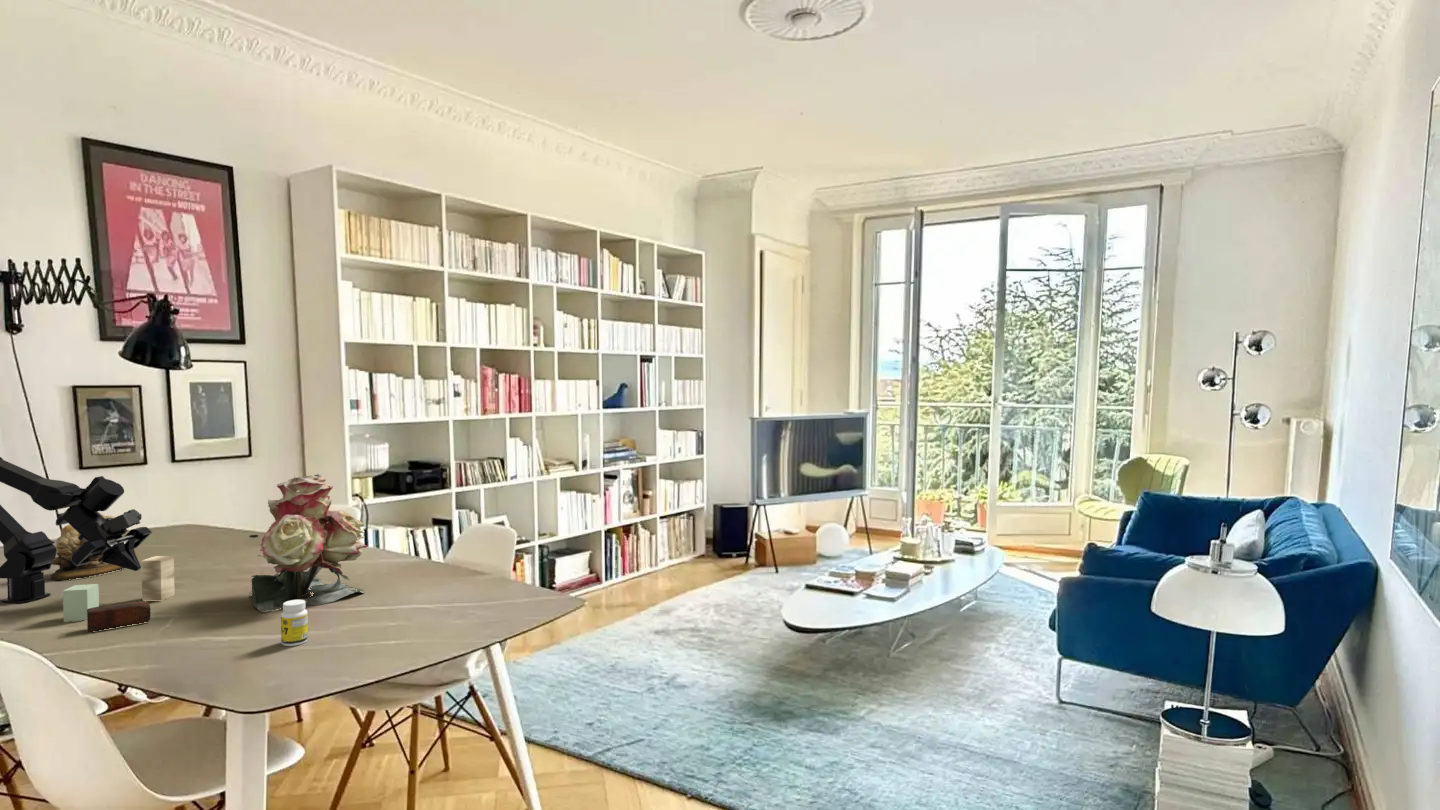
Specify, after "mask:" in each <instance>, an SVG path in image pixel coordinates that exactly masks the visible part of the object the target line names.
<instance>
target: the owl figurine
mask: <svg viewBox="0 0 1440 810" xmlns="http://www.w3.org/2000/svg"><path fill="white" fill-rule="evenodd" d="M99 513H100V514H101V515H102V516H103V517H104V518H115V517H116V516H113V515H105V514H102V513H101V512H99ZM79 536H80V534H79V533H78V532H77V531H76V530H75V529H74V528H73V527H72V526H71V525H70V524H67V525H65V526H64V527H62V529H61V530H60V536H59V537H57V539H56V541H55V542H56V545H54V546H55V547H56V550H57V551H56V557H55V559H54V560H53V562H52V566H59V568H58V569H56V570H55V571H54V573H52V574H51V575H50V579H51V580H53V581H56V580H69V579H76V578H84V577H89V576H94V575H99V574H104V573H108V572H112V571H116V570H120V569H122V568H124V567H120V566H117V565H113V564H109V563H104V562H98V560H99V559H100V558H101V556H100V553H96V554H93V555H89V556H88V557H87V558H88V563H87V564H84V565H81V566H76V565H75V564H74V563H73V562H72V561H71V555H72V554H73V553H74V552H75V551H76V550H77V549H78V548H79V547H80V546H81V545H82V544H83V543H84V542H87V540H82V541H80V540H79V539H78V537H79ZM120 571H121V570H120ZM84 579H85V578H84ZM69 581H70V580H69Z"/></svg>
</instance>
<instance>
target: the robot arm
mask: <svg viewBox="0 0 1440 810" xmlns="http://www.w3.org/2000/svg"><path fill="white" fill-rule="evenodd" d="M0 483H2V484H4V485H6V486H9V487H11V488H13V489H16V490H17V491H20V492H23V493H25V494H27V495H28V496H30V498H31V500H32V502H33V503H34V504H36V505H38V506H39V507H41V508H42V509H44V510H46V511H52V512H53V511H57V510H62V509H66V508H67V509H66V510H65V511H64V512H62V513H57V514H56V520H55V525H56V526H63V525H66V524H67V525H71V526H72V527H73V528H74V529H75V530H76V531H77V532H78V533H79V534H80V536H79V537H78V539H79V540H80V541H82V540H87V542H84V543H83V544H82V545H81V546H80V547H79V548H78V549H77V550H76V551H75V552H74V553H73V554H72V555H71V561H72V562H73V563H74V564H75V565H76V566H81V565H84V564H87V563H88V558H87V557H88V556H89V555H93V554H96V553H100V556H101V558H100V559H99V560H98V562H104V563H109V564H113V565H117V566H120V567H124V568H125V569H128V570H131V571H134V572H137V571H139V570H141V569H142V565H141V563H140V561H139V559H138V556H137V554H136V551H135V549H137V548H138V547H139V546H140V545H142V544H143V542H144V541H145V540H146V539H147V538H148V537H149V536H150V535H152V534H153V533H152V530H151V529H149V528H148V526H139V527H136V528H132V529H130V530H129V531H128V529H129V528H131V527H133V526H135V525H136V526H137V525H139V524H141V520H142V518H143V517H142V514H141V513H140V512H139V511H137V510H136V509H135V508H132V509H130V510H128V511H125V512H123V514H120V515H117V516H114V517H115V518H104V517H103V516H102V515H101V514H102V513H101V512H105V511H107V510H109V509H110V508H111V507H112V505H114V504H115V502H116V501H118V500H119V499H120V498H121V497H122V496H123V494H124V493H125V489H124V487H123V485H121V484H120V483H119V482H116V481H114V480H112V479H109V478H105V477H104V476H102V475H100V476H95V477H94V478H93V479H92V480H91V482H90V483H89V484H88V485H87V486H86V487H85V488H83V487H80V486H79V485H77V484H75V483H73V482H68V481H64V480H59V479H49V478H45V477H43V476H41V475H39V474H36V473H35V472H32V471H30V470H28V469H26V468H23V467H21V466H19V465H16V464H14V463H11V462H9V461H7V460H5V459H3V458H2V457H1V456H0ZM100 513H101V514H100ZM123 535H124V536H123ZM55 542H56V541H53V540H51V539H50V538H49V537H48V535H47V534H46V533H45V532H44V531H40V530H39V531H36V532H30V531H28V530H26V529H25V527H24V526H23V525H21V524H20V523H19V521H17V520H16V519H15V518H14V516H12V515H11V514H10V513H9V512H8V511H7V510H6V509H5V508H4V507H3V506H2V505H1V504H0V543H1V545H3V547H2V548H3V557H4V558H5V559H6V560H5V561H4V563H3V564H1V565H0V579H6V580H7V582H6V583H7V584H6V586H7V597H5V598H3V599H1V600H0V602H1V603H20V604H21V603H22V604H23V603H28V602H32V601H36V600H39V599H43V598H46V597H48V596H51V593H50V592H46V582H45V577H44V576H45V575H44V574H45V573H44V571H48V570H50V569H51V567H52V566H53V564H52V562H53V560H54V559H55V557H57V554H56V551H57V550H56V547H55V546H56V545H54V544H55Z"/></svg>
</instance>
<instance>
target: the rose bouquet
mask: <svg viewBox="0 0 1440 810" xmlns="http://www.w3.org/2000/svg"><path fill="white" fill-rule="evenodd" d="M325 482H326V478H325V477H324V476H322V475H321V474H319V473H317V474H315V475H311V474H310V475H304V476H300V477H299V476H298V477H296V476H295V475H294V476H293V478H290V479H288V480H287V481H283V482H280V483H278V484H277V485H276V487H277V489H279V490H280V492H281V495H282V497H281V498H280V499H276V500H275V499H273V500H272V499H268V500H267V504H268V505H267V507H268V508H269V513H270V514H271V515H272V517H273V518H274V522H273V523H271V525H270V526H269V527H268V529H267V530H266V532H265V534H264V535H263V538H262V539H261V543H260V546H261V549H259V552H262V555H263V556H262V555H257V557H262V558H264V559H265V560H266V562H267V564H271V565H275V566H274V567H273V568H274V569H275V570H274V571H275V572H276V573H275V574H274V575H271V574H254V575H251V590H250V591H251V592H252V593H251V595H252V596H251V595H250V596H249V595H248V598H249V599H250V600H251V603H252V606H253V607H254V608H256V609H257V610H258V611H259V612H261V613H270V612H269V611H272V610H276V609H280V608H281V609H280V610H283V609H282V608H283V603H284V602H287V601H291V600H304V601H305V606H307V605H308V606H319V605H324V604H328V603H332V602H335V601H338V600H340V599H342V598H344V597H347V596H349V595H352V594H355V593H357V594H360V593H361V592H360V591H364V592H365V590H364V588H363V589H362V588H358V587H355V586H354V587H353V586H350V585H347V584H346V583H345V584H344V583H342V581H341V577H342V578H343V579H344V580H347V581H350V578H349V576H347V575H346V574H343V569H342V564H341V563H339V562H351V561H356V560H357V559H358V558H359V557H361V556H362V554H363V553H364V551H363V549H365V548H367V546H368V545H366V544H364V543H362V540H361V539H364V538H365V536H364V535H362V534H365V530H363V529H362V527H364V526H365V524H364V523H363V522H362V521H361V520H359V519H357V518H355V517H354V516H353V515H352V514H350V513H349V512H347V511H344V510H330V507H331V505H332V500H331V498H330V497H331V496H330V495H329V493H330V492H331V490H333V487H334V486H333V485H331V484H326V483H325ZM248 537H249V538H251V539H252V538H258V537H259V535H258V534H250V535H249V536H248ZM322 569H328V570H329V571H330V572H331V573H334V574H335V575H336V576H337V580H336V582H333V583H331V584H324V585H317V584H319V583H320V584H322V583H321V582H320V581H321V578H319V577H318V576H317V575H318V574H319V572H320V571H321V570H322ZM340 576H341V577H340ZM322 581H324V580H323V579H322ZM310 586H311V587H312V588H311V587H310ZM309 587H310V589H311V590H309V589H308V588H309ZM346 588H355V589H357V591H356V590H349V589H346ZM310 592H311V593H312V592H313V593H314V594H313V596H311V597H309V596H308V597H309V598H307V597H306V599H305V598H304V597H303V596H305V595H307V594H309V593H310ZM306 593H307V594H306ZM302 595H303V596H302ZM272 612H273V611H272Z"/></svg>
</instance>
